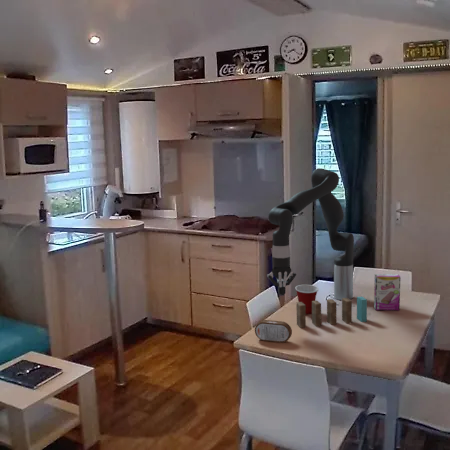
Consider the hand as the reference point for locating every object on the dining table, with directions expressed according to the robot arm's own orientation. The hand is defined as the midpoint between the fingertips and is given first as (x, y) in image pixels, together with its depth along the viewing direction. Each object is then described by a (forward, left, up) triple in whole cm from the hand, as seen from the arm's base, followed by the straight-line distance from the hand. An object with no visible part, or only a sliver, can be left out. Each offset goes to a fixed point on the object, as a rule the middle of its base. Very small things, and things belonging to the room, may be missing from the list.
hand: (281, 295), depth 241 cm
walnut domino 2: (0, +16, -15) cm, 21 cm away
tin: (+14, -8, -15) cm, 22 cm away
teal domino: (0, +37, -15) cm, 39 cm away
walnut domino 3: (0, +23, -15) cm, 27 cm away
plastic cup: (-17, +17, -15) cm, 28 cm away
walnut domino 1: (0, +9, -15) cm, 17 cm away
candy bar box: (-11, +54, -15) cm, 57 cm away
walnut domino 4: (0, +30, -15) cm, 33 cm away
